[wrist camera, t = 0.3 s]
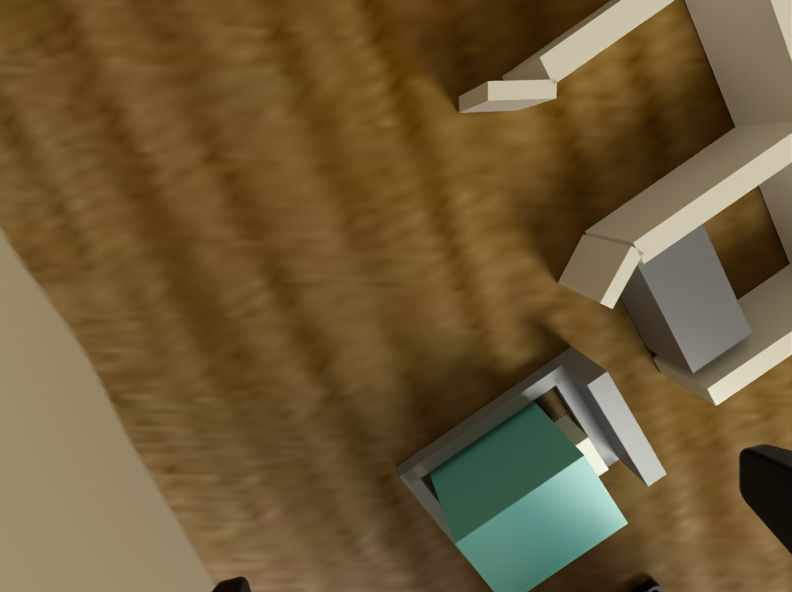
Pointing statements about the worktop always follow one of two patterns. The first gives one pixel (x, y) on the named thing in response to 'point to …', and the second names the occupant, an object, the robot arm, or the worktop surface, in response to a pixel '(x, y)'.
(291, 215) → the worktop surface
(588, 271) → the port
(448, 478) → the plug
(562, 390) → the grey rectangular frame stand
